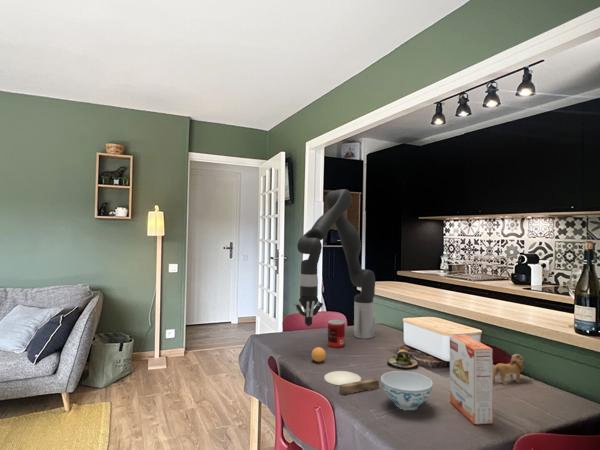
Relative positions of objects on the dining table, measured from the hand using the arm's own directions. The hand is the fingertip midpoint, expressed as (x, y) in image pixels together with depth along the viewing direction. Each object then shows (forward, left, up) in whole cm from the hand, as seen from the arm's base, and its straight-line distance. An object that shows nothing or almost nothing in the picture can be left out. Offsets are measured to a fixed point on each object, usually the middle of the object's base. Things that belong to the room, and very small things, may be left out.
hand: (308, 325), depth 163 cm
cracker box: (-21, +66, -13) cm, 70 cm away
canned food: (-17, -6, -13) cm, 22 cm away
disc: (0, +29, -12) cm, 31 cm away
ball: (0, +10, -10) cm, 13 cm away
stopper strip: (0, +40, -12) cm, 41 cm away
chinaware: (-7, +55, -13) cm, 56 cm away
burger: (-29, +26, -13) cm, 41 cm away
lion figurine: (-52, +54, -13) cm, 76 cm away
